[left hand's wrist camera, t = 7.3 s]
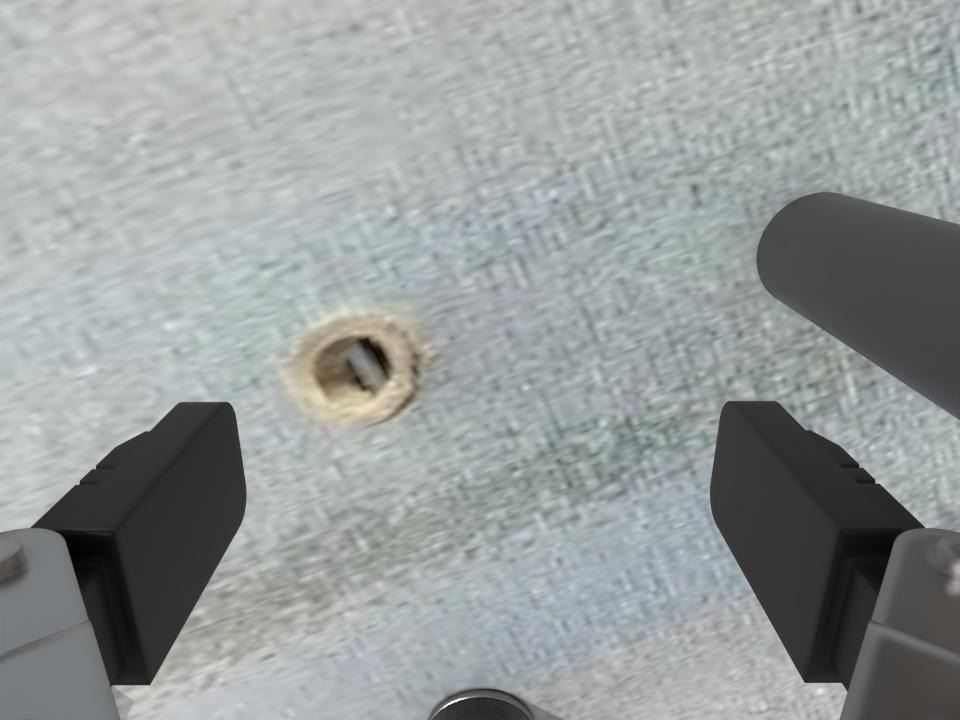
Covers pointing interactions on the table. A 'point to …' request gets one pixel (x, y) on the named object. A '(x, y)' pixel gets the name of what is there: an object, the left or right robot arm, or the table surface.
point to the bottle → (873, 285)
